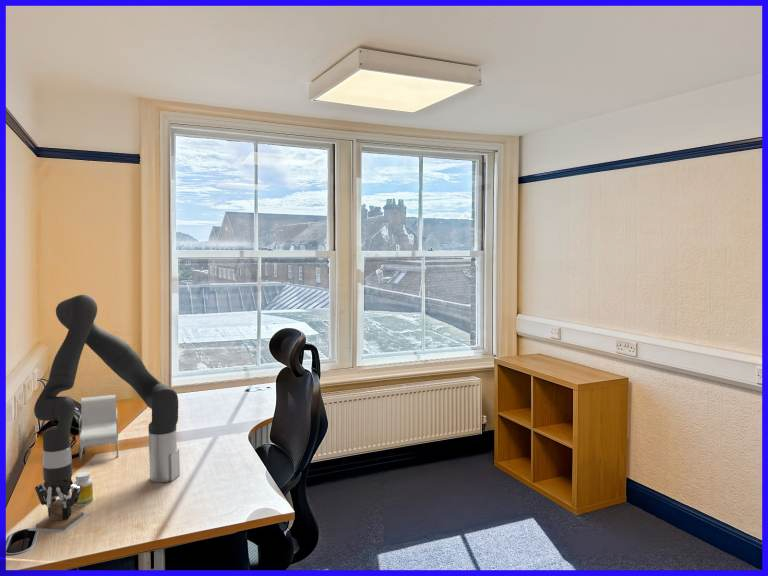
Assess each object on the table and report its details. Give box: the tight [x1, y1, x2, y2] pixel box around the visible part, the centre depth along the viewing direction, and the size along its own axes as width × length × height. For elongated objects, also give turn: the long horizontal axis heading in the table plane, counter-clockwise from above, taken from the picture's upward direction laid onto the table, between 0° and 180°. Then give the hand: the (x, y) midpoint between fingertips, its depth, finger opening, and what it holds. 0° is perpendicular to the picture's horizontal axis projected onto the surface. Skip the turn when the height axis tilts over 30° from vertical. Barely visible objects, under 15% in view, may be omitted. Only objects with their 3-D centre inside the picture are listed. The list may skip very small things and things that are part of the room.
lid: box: [35, 498, 84, 530], centre depth 175 cm, size 9×9×6 cm
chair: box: [78, 394, 119, 463], centre depth 234 cm, size 13×25×20 cm, turn 25°
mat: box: [27, 512, 92, 534], centre depth 175 cm, size 12×12×1 cm
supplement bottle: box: [73, 471, 94, 507], centre depth 188 cm, size 5×5×10 cm
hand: (59, 517), depth 175 cm, fingers closed on lid, 3 cm apart
